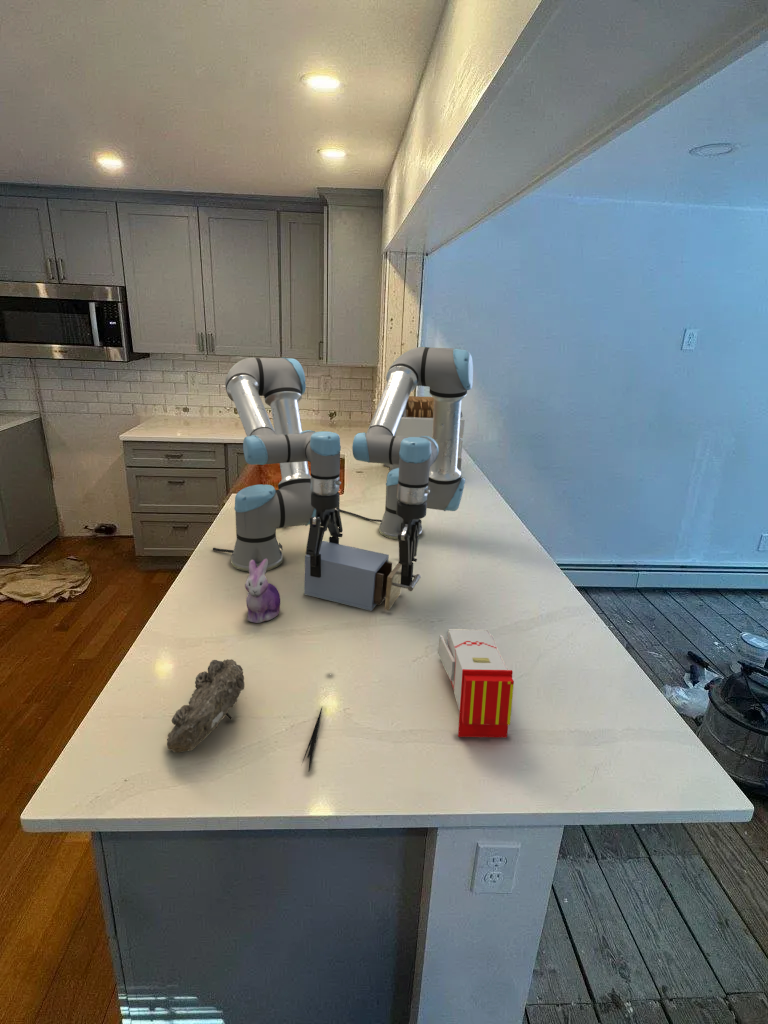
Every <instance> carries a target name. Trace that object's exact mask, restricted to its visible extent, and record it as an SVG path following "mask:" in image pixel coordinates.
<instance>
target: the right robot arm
mask: <svg viewBox="0 0 768 1024" xmlns="http://www.w3.org/2000/svg"><path fill="white" fill-rule="evenodd" d="M385 380H386V384H385V387H384V389H383V392H382V393H381V397H380V399H379V401H378V403H377V406H376V409H375V411H374V414H373V416H372V418H371V421H370V423H369V425H368V428H367V431H366V432H365V431H364V432H358V433H356V434H355V435H354V436H353V439H352V440H353V441H352V446H351V447H352V448H351V449H352V456H353V458H354V459H355V460H356V461H359V462H363V463H372V464H381V465H382V464H383V465H384V464H392V465H399V468H396V469H393V470H391V471H390V470H389V472H388V473H387V475H386V482H385V504H384V505H385V507H384V508H385V509H384V513H383V515H382V519H376V518H369V517H366V516H362V515H360V514H357V513H353V512H350V511H348V510H343V509H341V508H339V511H340V513H344V514H346V515H350V516H354V517H357V518H360V519H362V520H366V521H370V522H375V523H376V522H378V523H379V525H378V533H379V534H380V535H381V536H382V537H385V538H387V539H389V540H395V541H398V558H399V559H398V562H397V564H398V563H399V564H402V569H401V584H402V585H406V586H409V585H410V583H411V582H412V580H413V577H412V576H413V575H414V563H417V561H418V558H415V557H417V554H418V553H417V552H418V547H419V546H418V544H419V538H420V537H421V536H422V535H423V525H422V521H423V520H422V519H423V518H425V517H426V516H427V509H428V510H429V509H430V510H437V511H443V512H456V511H457V510H458V509H459V508H460V504H461V501H462V498H463V497H462V496H463V493H464V488H465V484H466V478H465V477H462V471H461V472H460V470H459V469H457V459H458V444H459V429H460V415H461V412H462V401H463V399H465V397H466V396H467V395H468V391H470V390H472V389H473V384H474V363H473V357H472V354H471V352H470V351H469V350H467V349H459V348H456V347H455V348H453V347H431V346H430V347H427V346H418V347H413V348H411V349H409V350H407V351H405V352H404V353H402V354H401V355H400V356H398V357H397V358H396V359H395V360H394V361H393V362H392V363H391V364H390V366H389V368H388V370H387V373H386V376H385ZM417 387H429V392H428V393H429V395H430V397H433V398H434V412H433V434H432V438H431V437H429V436H421V437H398V436H395V434H396V431H397V428H398V426H399V423H400V420H401V417H402V415H403V412H404V409H405V407H406V404H407V401H408V398H409V396H411V393H412V392H414V390H416V388H417Z"/></svg>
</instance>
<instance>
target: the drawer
mask: <svg viewBox="0 0 768 1024" xmlns="http://www.w3.org/2000/svg"><path fill="white" fill-rule="evenodd" d="M393 564H394V563H393V562H392V561H388V562H387V561H386V562H385V563H384V564H383V565H382V566H381V568H380V569H379V570H378V571H377V572H376V576H375V588H374V601H373V603H374V604H376V605H379V606H380V605H382V604H383V602H384V610H386V611H390V609H391V608H392V607H393V605H394V604H395V602H396V601H397V599H398V597H400V595H401V591H402V589H406V590H408V592H413V591H414V589H415V587H416V586H417V585H418V583H419V581H420V579H421V578H422V575H421V574H420V573H417V574H413V576H412V582H411V583H410V585H409V586H406V585H402V584H401V569H402V564H399V563H398V562H397V564H396V565H395V566H394V568H393Z"/></svg>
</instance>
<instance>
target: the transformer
mask: <svg viewBox="0 0 768 1024" xmlns="http://www.w3.org/2000/svg"><path fill="white" fill-rule="evenodd" d="M433 412H434V398H433V397H432V396H415V395H414V396H413V395H412V396H411V395H410V396H409V398H408V401H407V404H406V407H405V409H404V412H403V415H402V417H401V420H400V423H399V426H398V428H397V431H396V434H395V436H398V437H421V436H429V437H431V438H432V434H433ZM464 429H465V419H464V418H463V411H461V415H460V429H459V444H458V459H457V469H459V470H460V472H461V473H462V461H463V460H462V453H463V442H464V441H463V440H462V439H463V438H464V431H465V430H464ZM383 466H384V467H388V468H389V472H390V471H391V470H393V469H396V468H399V465H392V464H383Z"/></svg>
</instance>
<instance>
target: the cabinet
mask: <svg viewBox="0 0 768 1024" xmlns="http://www.w3.org/2000/svg"><path fill="white" fill-rule="evenodd" d="M319 554H321V577H320V578H318V577H313V576H310V555H306V554H305V555H304V581H303V582H304V583H303V595H306V596H309V597H313V598H318V599H321V600H325V601H329V602H333V603H337V604H341V605H346V606H350V607H355V608H358V609H363V610H366V611H374V608H375V607H376V606H377V604H374V603H373V601H374V588H375V576H376V572H377V571H378V570H379V569H380V568H381V566H382V565H383V564H384V563H385V562H386V561H387V562H389V557H390V556H389V554H387V553H383V552H378V551H373V550H368V549H363V548H359V547H354V546H349V545H346V544H341V543H339V544H336V543H331V542H329V541H326V540H322V544H321V548H320V552H319Z"/></svg>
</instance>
